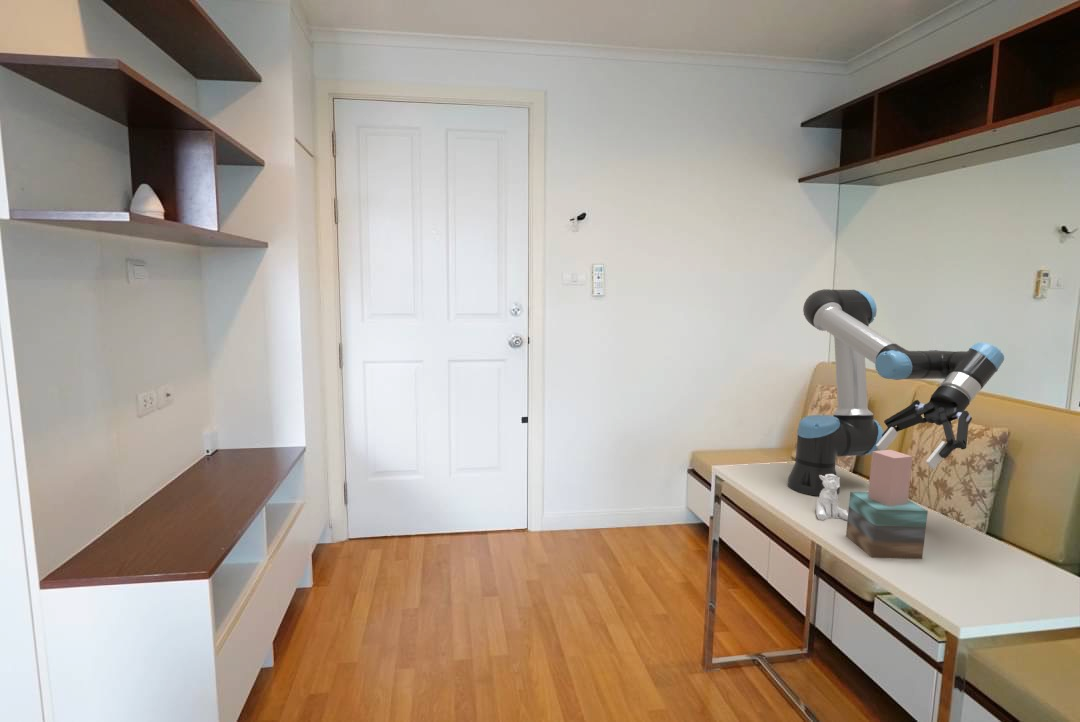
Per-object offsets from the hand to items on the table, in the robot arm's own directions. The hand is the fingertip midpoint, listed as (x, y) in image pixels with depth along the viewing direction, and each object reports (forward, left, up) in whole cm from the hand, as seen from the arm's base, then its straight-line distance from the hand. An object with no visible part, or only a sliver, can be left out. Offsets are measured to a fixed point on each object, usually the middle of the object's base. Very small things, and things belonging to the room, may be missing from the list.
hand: (903, 456), depth 141 cm
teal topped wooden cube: (+1, -3, -23) cm, 23 cm away
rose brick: (+1, -3, -11) cm, 12 cm away
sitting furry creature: (-19, -7, -23) cm, 31 cm away
